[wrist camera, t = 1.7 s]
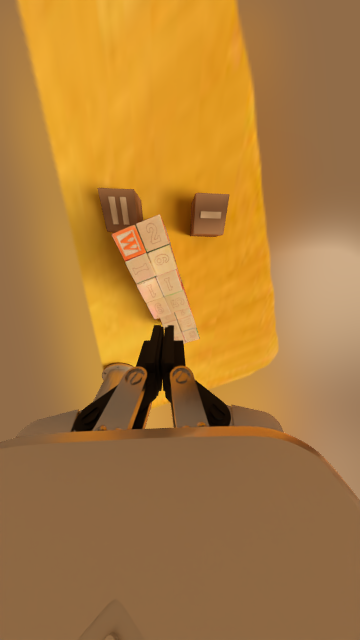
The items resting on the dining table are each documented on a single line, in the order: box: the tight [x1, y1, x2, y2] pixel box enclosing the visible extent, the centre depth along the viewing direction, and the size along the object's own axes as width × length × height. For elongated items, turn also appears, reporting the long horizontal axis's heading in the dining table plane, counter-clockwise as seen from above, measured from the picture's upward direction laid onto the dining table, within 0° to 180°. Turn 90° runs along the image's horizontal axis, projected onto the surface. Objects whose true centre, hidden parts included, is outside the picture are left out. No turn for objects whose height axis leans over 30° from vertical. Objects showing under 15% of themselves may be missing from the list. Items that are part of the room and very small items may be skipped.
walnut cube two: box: [98, 188, 143, 233], centre depth 21 cm, size 5×5×5 cm
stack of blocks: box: [112, 214, 200, 344], centre depth 25 cm, size 21×6×12 cm, turn 18°
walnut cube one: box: [190, 193, 229, 237], centre depth 22 cm, size 5×5×5 cm
